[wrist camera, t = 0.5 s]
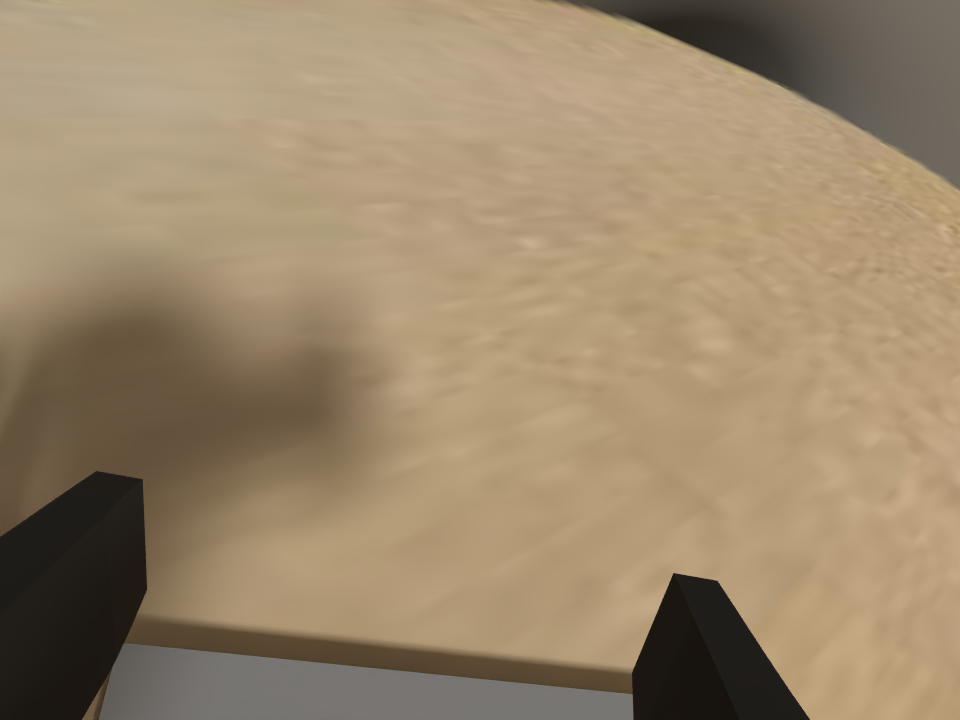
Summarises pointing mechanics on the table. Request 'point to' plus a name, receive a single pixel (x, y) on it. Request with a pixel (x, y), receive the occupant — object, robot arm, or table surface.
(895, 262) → the table surface
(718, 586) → the robot arm
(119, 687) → the socket strip
